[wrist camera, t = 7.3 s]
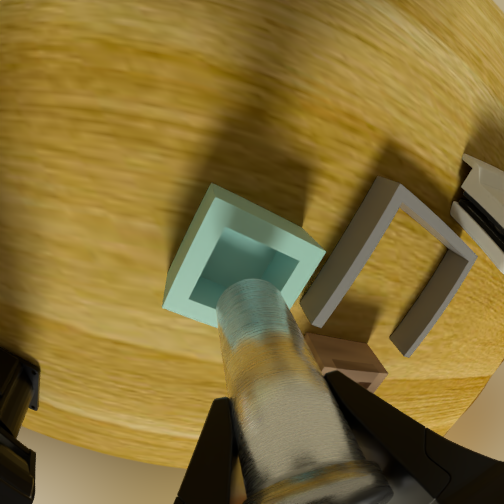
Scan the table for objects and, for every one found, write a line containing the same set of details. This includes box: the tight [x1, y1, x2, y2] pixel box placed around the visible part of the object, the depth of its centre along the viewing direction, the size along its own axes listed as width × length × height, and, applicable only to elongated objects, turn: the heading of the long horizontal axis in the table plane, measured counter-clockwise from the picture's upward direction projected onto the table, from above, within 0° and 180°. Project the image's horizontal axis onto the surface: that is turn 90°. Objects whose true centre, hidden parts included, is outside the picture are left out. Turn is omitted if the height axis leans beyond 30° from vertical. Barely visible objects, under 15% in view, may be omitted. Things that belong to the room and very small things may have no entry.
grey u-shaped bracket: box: [299, 176, 478, 358], centre depth 20 cm, size 10×11×2 cm
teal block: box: [162, 183, 326, 328], centre depth 16 cm, size 6×6×4 cm
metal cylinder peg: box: [216, 278, 394, 504], centre depth 8 cm, size 3×3×9 cm
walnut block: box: [304, 332, 388, 393], centre depth 22 cm, size 6×6×4 cm
